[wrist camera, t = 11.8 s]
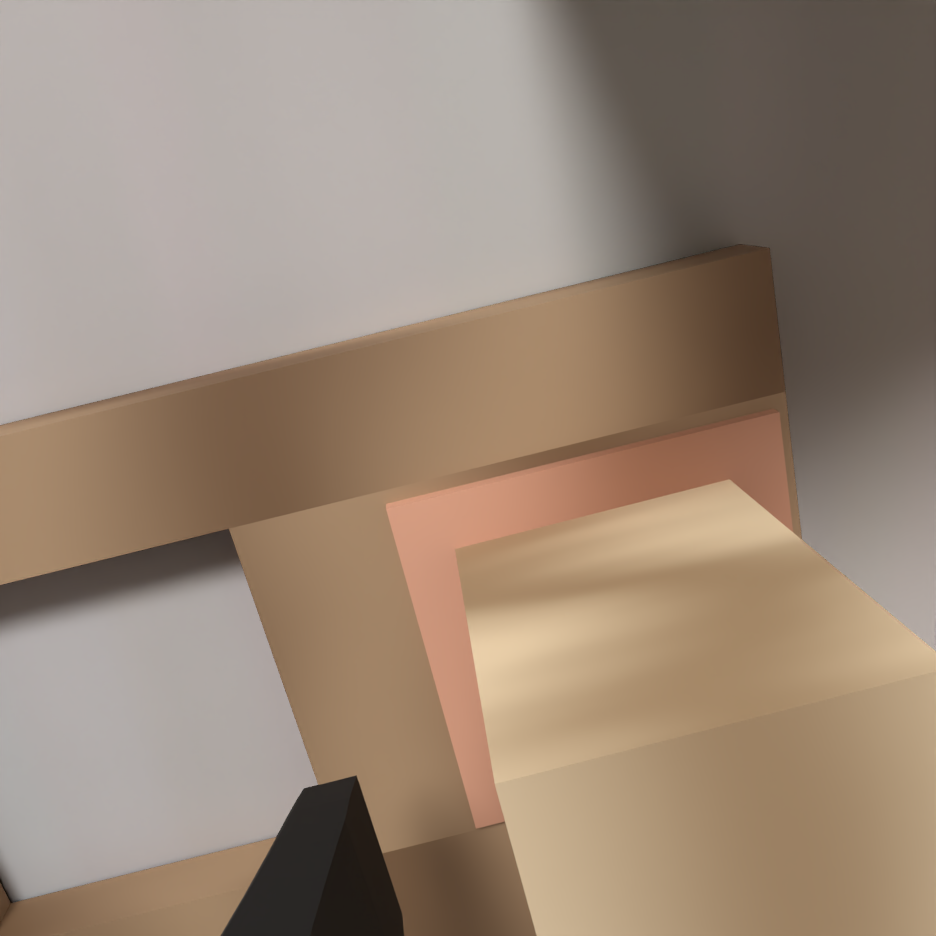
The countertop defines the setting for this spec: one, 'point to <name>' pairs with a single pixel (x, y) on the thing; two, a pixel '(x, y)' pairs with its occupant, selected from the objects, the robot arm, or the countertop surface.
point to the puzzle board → (402, 537)
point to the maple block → (703, 727)
